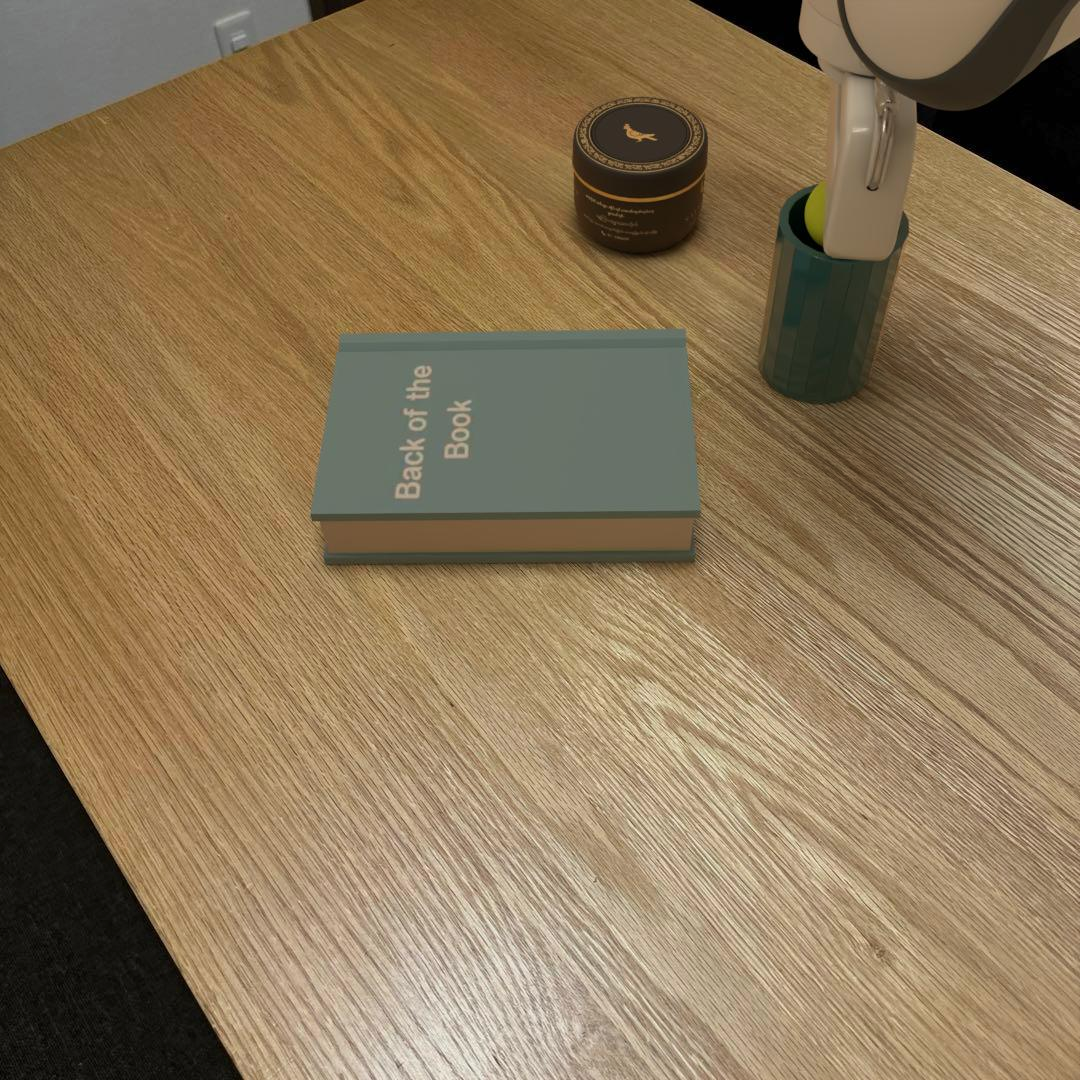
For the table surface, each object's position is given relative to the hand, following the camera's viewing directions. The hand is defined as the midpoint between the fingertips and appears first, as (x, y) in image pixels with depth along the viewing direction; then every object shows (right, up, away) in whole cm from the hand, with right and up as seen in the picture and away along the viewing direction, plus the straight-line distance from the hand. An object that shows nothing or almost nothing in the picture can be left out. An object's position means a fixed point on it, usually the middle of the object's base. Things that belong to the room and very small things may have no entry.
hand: (843, 220), depth 73 cm
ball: (0, 0, 0) cm, 1 cm away
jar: (-11, +5, +20) cm, 23 cm away
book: (-20, -15, +5) cm, 26 cm away
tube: (0, -7, +10) cm, 12 cm away
